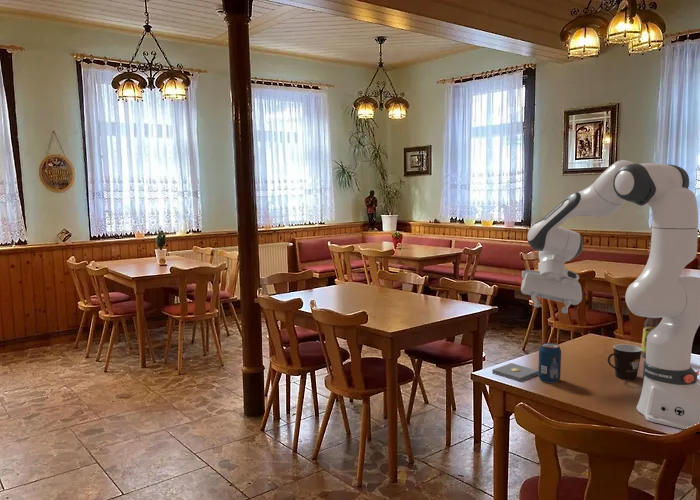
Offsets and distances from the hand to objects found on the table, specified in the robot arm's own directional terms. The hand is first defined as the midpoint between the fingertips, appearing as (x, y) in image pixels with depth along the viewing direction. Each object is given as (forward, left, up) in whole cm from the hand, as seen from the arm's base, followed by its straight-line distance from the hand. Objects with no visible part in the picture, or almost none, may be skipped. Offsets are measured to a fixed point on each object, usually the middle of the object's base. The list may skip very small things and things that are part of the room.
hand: (550, 309), depth 193 cm
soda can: (-3, +5, -23) cm, 23 cm away
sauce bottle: (-14, -45, -23) cm, 53 cm away
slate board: (+8, +8, -23) cm, 25 cm away
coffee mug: (-17, -16, -23) cm, 33 cm away
